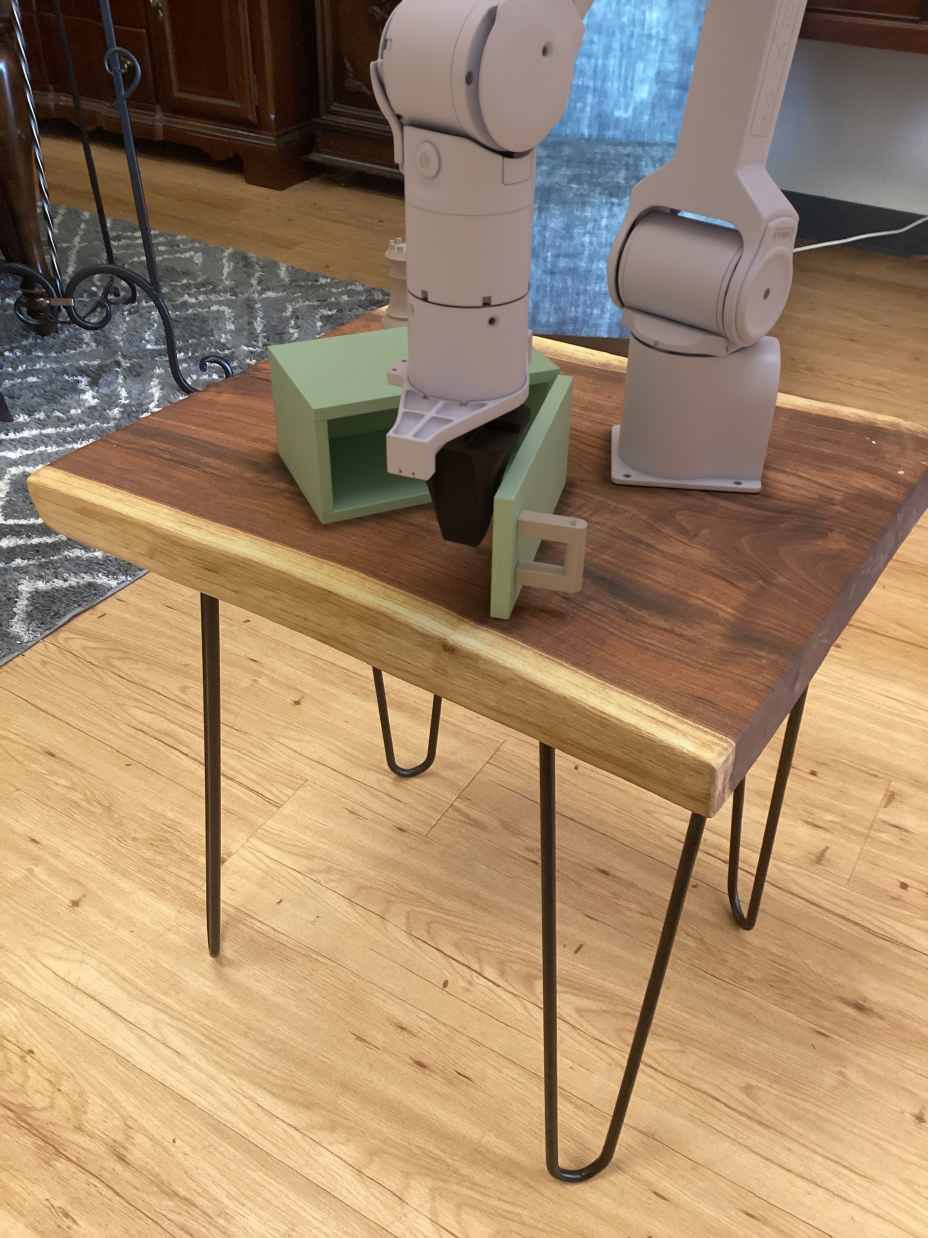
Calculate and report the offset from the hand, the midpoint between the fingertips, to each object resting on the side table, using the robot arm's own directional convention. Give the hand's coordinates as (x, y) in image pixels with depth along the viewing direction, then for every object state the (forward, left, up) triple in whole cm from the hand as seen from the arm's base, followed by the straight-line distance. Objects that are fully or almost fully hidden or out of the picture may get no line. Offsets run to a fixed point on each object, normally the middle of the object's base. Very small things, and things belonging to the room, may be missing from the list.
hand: (464, 537), depth 56 cm
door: (-5, -4, -3) cm, 7 cm away
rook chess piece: (+9, -35, -3) cm, 36 cm away
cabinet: (+5, -13, -3) cm, 14 cm away
